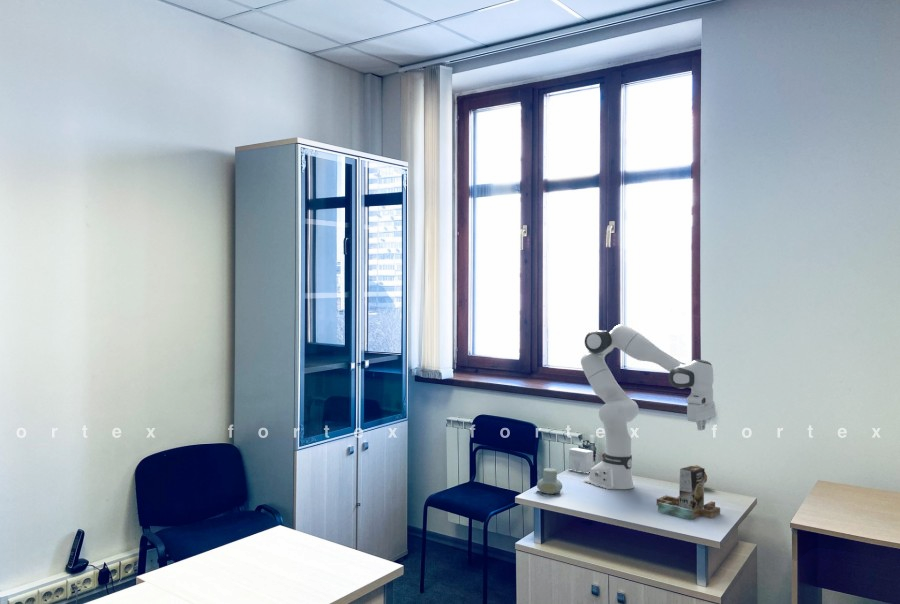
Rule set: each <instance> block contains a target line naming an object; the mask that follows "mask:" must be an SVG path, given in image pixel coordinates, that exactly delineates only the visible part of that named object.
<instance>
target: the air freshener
mask: <svg viewBox="0 0 900 604" xmlns="http://www.w3.org/2000/svg"><path fill="white" fill-rule="evenodd" d="M542 469H543V470H542V478H540V479H539V480H538V481H537V482H536V487H537V489H538V491H540V492H541V493H543V494H545V493H546V495H556V494H558V493H560V491H562V489H563V483H562V482H561V481H560V480H559V479H558V475H557V472H558V470H557V469H556V468H552V467H545V468H542Z"/></svg>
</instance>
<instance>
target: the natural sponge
mask: <svg viewBox="0 0 900 604" xmlns="http://www.w3.org/2000/svg"><path fill="white" fill-rule="evenodd" d="M693 466H694V467H700V468H702V467H701V466H700V465H697V464H696V465H693ZM707 481H708V475H707V473H706V472H705V473H704V484H706V483H707Z"/></svg>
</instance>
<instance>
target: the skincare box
mask: <svg viewBox="0 0 900 604" xmlns="http://www.w3.org/2000/svg"><path fill="white" fill-rule="evenodd" d="M592 467H594V451H593V450H591V449H584V448H579V447H572V448H569V449H568V471H570V470H569V469H572V470H576V471H581V472H585V473H586V472H589V471H590V470H591V468H592ZM576 471H575V472H576Z"/></svg>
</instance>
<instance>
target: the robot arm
mask: <svg viewBox="0 0 900 604" xmlns="http://www.w3.org/2000/svg"><path fill="white" fill-rule="evenodd" d="M584 337H585V338H584V346H585V348H586V350H587V351H588V352H586V353H585V354H583V356H582V357H581V359H580V364H581V368H582V370H583V373H584V375H585V377H586V379H587V381H588V383H589V385H590V387H591V388H592V390H593V392H594V394H595V395H596V396H597V397H598V398H600V399H601V400H602V401H603V402H604V404H602V406H601V407H600V409H599V410H598V417H599V419H600V421H601V422H602V424H603V429H604V432H605V443H606V444H605V445H606V446H605V453H603V454H601V455H600V458H602V460H601V461H600V462H598V463H597V464H595V465H593V467H592V468H591V470H590V473H588V474H589V475H588V476H587V477H585V478H584V479H583V480H584V481H585V482H584V481H583V482H584V483H586V482H587V484H589V483H591V484H590V485H593V484H594V485H593V486H596V485H597V486H596V487H599V486H600V488H602V487H603V489H605V488H606V489H607V490H630V489H633V488H634V487H635V484H634V481H633V474H632V466H633V456H632V438H631V437H632V436H631V435H630V434H629V431H628V426H627V425H628V423H629V422H632V421H633V420H634V419H636V418H637V416H638V415H639V413H640V411H639V410H640V409H639V405H638V403H637V402H636V401H635V400H633V399H632V398H631V397H630V396H629V395H628V394H627V393H626V392H625V391H624V389H623V388H622V387H621V386H620V384H618V382H617V380H616V379H615V377H614V374H612V372H611V371H612V370H611V369H610V368H609V366H608V365H607V362H606V360H605V359H607V358H608V357H609V355H610V354H612V353H613V351H614V350H615V349H616V348H617V349H619V350H621V352H623V353H624V354H626V355H627V356H629V357H630V358H632V359H635V360H636V361H640V362H641V361H643V362H650V363H654V364H656V365H658V366H660V367H661V368H663V369H664V370H666V371H668V372H669V373H668V381H669V383H670V385H671V386H672V387H673V388H676V389H687V388H690V389H691V391H690V394H689V395H688V397H687V398H686V400H685V401H686V403H687V407H686V417H687V420H688V422H692V423H696V426H697V427H696V428H697V431H703V430H705V429H706V424H707V421H708V419H712V418H715V415H716V404H715V401H714V388H713V384H714V368H713V365H712V363H711V362H710V361H708V360H703V359H699V358H698V359H694V360H692V361H691V362H688V363H684V362H681V361H680V360H677V359H676V358H674V357H673V356H671V355H669V354H668V353H667V352H665V351H663V350H662V349H660V348H659V347H658V346H656V345H655V344H654V343H652V341H650V340H649V339H648V338H647V337H645V336H644V335H643V334H641V333H640V332H639V331H636V330H635V329H633V328H632V327H630V326H627V325H624V324H622V323H621V324H620V323H619V324H618V325H616V326H614V327H613V328H612V329H611V330H610V331H608V330H597V329H596V330H592V331H590V332H587V334H586V336H584ZM606 489H605V490H606Z"/></svg>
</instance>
